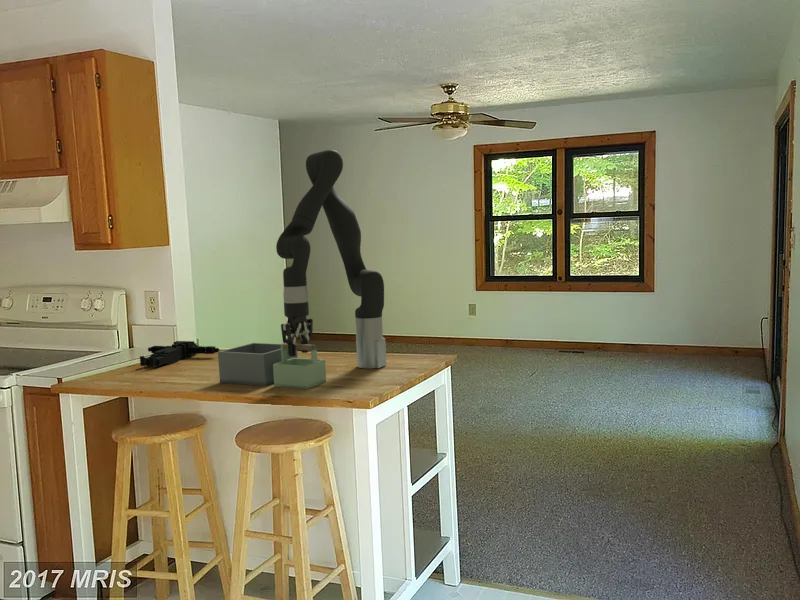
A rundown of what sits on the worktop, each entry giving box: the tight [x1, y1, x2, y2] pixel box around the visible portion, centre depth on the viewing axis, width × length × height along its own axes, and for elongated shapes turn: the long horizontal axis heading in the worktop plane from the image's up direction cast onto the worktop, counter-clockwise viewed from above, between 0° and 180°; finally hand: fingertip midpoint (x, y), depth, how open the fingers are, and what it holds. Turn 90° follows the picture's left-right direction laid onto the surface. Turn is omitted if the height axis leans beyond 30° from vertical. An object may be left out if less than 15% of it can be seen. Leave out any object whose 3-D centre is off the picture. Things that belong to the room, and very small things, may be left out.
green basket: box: [273, 342, 327, 390], centre depth 223 cm, size 12×11×12 cm
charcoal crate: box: [217, 342, 299, 387], centre depth 234 cm, size 18×18×10 cm
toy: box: [139, 340, 220, 367], centre depth 272 cm, size 31×6×30 cm
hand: (298, 354), depth 223 cm, fingers open, 6 cm apart
